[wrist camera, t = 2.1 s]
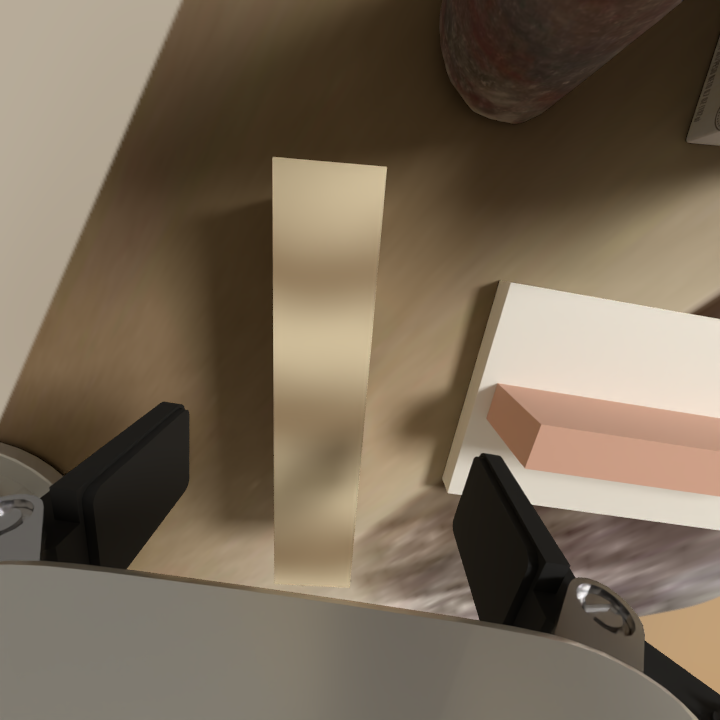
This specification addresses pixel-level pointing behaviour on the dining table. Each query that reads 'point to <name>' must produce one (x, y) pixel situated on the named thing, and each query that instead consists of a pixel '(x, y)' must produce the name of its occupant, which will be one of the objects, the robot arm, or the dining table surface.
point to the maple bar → (321, 359)
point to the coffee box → (708, 107)
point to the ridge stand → (597, 406)
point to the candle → (535, 48)
